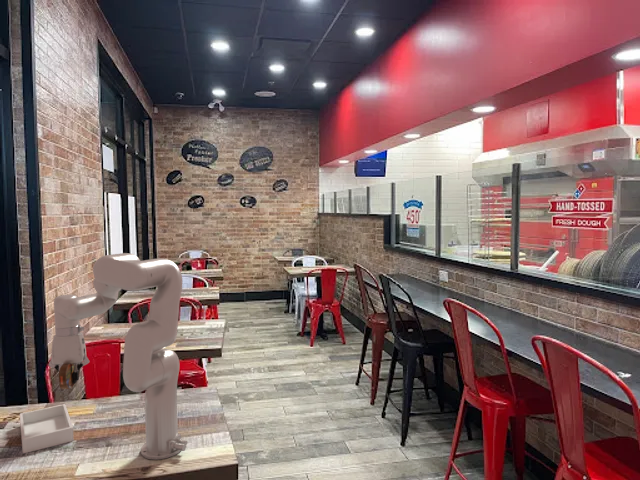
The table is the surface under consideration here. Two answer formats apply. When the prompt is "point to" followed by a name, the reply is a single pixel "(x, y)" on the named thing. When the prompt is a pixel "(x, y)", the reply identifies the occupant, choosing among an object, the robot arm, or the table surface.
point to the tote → (45, 428)
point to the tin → (66, 376)
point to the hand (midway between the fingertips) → (70, 382)
